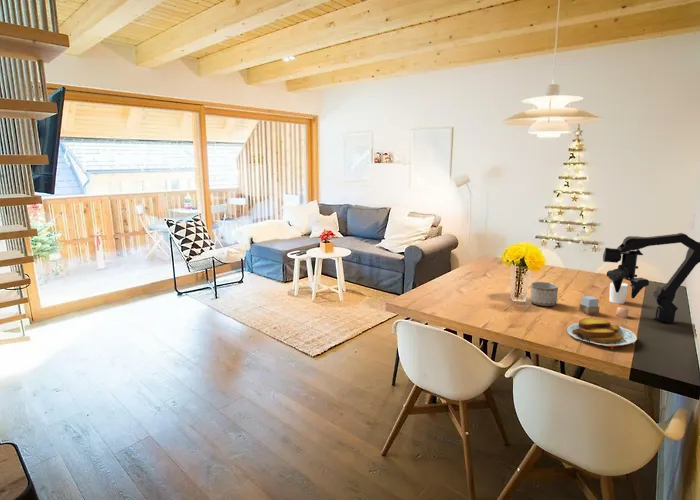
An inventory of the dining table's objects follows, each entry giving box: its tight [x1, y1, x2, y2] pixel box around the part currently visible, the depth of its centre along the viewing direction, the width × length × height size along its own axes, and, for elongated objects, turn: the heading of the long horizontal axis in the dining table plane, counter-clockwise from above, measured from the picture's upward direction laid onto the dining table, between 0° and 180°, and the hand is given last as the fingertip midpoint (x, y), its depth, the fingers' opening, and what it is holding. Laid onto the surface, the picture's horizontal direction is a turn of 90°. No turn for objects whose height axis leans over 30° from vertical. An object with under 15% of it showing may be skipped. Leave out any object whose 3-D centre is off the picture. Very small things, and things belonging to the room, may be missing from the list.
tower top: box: [580, 295, 600, 307], centre depth 194 cm, size 5×5×4 cm
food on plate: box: [566, 317, 639, 350], centre depth 166 cm, size 25×25×7 cm
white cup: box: [608, 281, 629, 305], centre depth 209 cm, size 8×8×10 cm
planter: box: [529, 281, 559, 307], centre depth 208 cm, size 13×13×10 cm
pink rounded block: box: [615, 306, 630, 319], centre depth 189 cm, size 5×5×4 cm
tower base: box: [578, 303, 600, 316], centre depth 195 cm, size 6×6×4 cm
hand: (624, 295), depth 188 cm, fingers open, 9 cm apart
